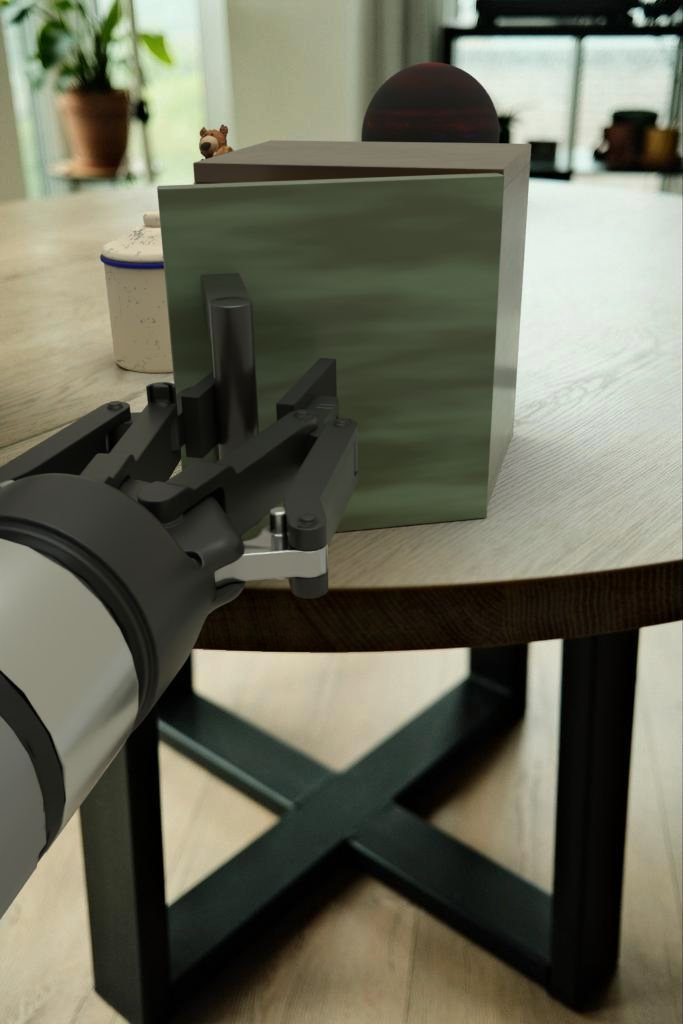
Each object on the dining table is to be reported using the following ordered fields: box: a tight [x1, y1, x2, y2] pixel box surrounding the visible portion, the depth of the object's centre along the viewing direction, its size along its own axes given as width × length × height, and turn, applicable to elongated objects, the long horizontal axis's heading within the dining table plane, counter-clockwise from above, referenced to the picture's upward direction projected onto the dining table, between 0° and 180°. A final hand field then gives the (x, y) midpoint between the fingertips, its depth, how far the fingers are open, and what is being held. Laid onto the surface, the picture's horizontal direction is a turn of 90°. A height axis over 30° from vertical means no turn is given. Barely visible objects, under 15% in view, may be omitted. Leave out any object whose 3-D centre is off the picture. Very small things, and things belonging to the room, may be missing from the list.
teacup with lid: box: [99, 210, 173, 374], centre depth 82 cm, size 12×9×12 cm
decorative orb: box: [361, 62, 500, 143], centre depth 148 cm, size 20×20×20 cm
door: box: [156, 173, 505, 541], centre depth 47 cm, size 7×16×18 cm, turn 101°
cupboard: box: [192, 139, 532, 507], centre depth 59 cm, size 12×16×18 cm
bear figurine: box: [193, 124, 235, 184], centre depth 146 cm, size 14×15×12 cm
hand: (286, 383), depth 48 cm, fingers open, 3 cm apart
